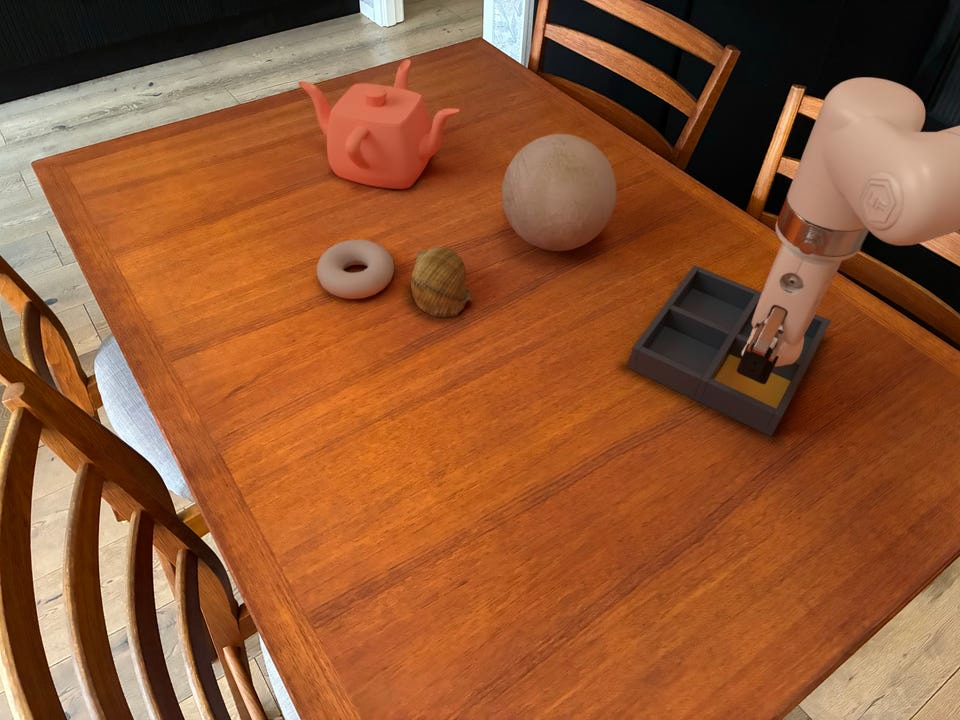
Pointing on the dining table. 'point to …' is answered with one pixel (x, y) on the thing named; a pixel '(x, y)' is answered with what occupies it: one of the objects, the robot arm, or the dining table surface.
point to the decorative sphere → (559, 192)
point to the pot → (379, 132)
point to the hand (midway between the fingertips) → (763, 354)
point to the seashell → (439, 282)
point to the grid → (718, 350)
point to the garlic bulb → (782, 349)
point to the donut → (356, 282)
